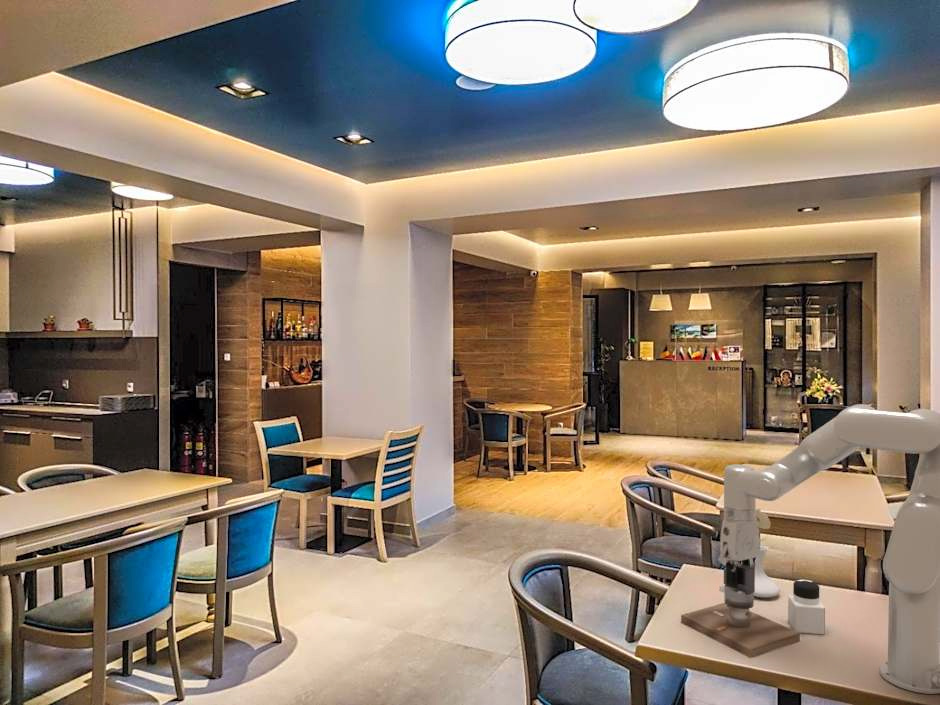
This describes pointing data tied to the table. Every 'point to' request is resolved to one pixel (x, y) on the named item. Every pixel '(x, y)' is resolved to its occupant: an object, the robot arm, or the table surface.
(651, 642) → the table surface
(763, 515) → the flower in vase
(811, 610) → the medicine bottle
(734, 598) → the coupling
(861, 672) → the table surface
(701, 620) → the brown wooden board
